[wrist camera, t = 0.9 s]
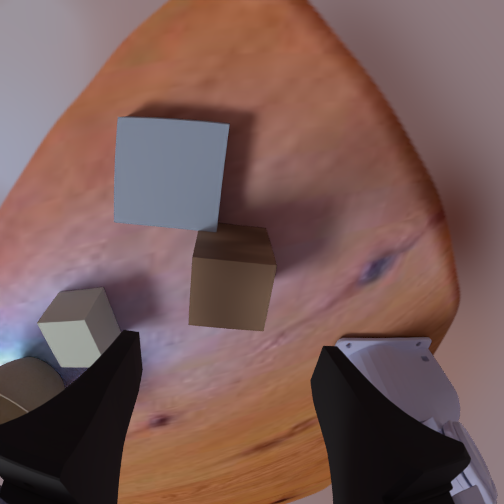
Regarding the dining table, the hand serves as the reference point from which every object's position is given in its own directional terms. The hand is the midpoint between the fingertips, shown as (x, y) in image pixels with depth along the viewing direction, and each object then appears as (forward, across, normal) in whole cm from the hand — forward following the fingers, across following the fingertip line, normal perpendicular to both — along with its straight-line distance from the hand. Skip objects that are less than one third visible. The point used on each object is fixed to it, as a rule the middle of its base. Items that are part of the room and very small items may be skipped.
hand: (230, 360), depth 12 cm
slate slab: (+10, +4, -5) cm, 12 cm away
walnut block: (+10, 0, 0) cm, 10 cm away
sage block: (+10, +10, +6) cm, 15 cm away
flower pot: (+10, +17, +15) cm, 25 cm away
